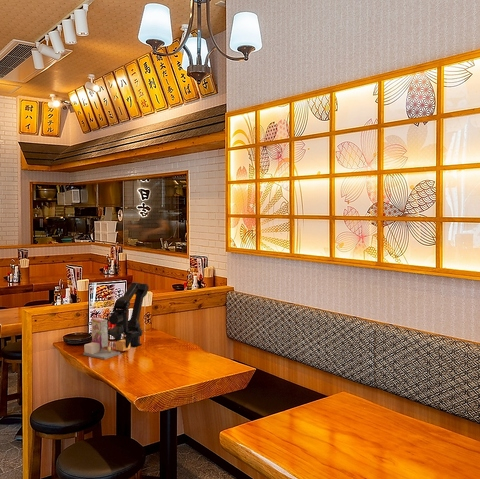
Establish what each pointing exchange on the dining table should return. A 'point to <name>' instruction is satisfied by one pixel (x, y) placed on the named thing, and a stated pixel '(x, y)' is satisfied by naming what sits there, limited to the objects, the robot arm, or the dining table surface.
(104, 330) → the candy bar box
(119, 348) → the light orange block
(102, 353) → the board
